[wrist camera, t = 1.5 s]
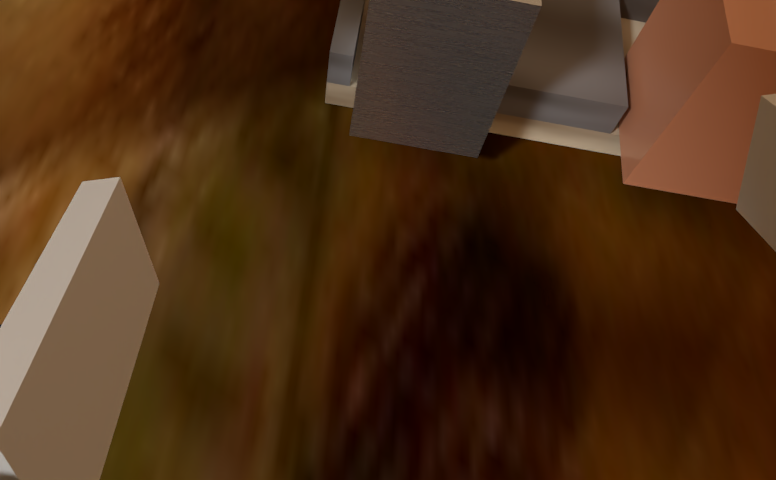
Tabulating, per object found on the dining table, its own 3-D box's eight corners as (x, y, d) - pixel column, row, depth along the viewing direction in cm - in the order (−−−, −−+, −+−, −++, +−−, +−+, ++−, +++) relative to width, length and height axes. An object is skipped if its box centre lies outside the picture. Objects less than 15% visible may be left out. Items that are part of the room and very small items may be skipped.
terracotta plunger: (744, 205, 33) (888, 73, 25) (623, 183, 33) (731, 42, 25) (724, 94, 36) (845, -51, 29) (614, 74, 36) (707, -80, 28)
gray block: (477, 157, 32) (541, 6, 24) (349, 135, 32) (373, -27, 24) (483, 49, 36) (541, -114, 28) (368, 27, 35) (394, -144, 28)
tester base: (745, 178, 36) (816, 109, 31) (325, 102, 35) (332, 18, 30) (719, 41, 41) (778, -37, 36) (352, -30, 40) (362, -121, 35)
